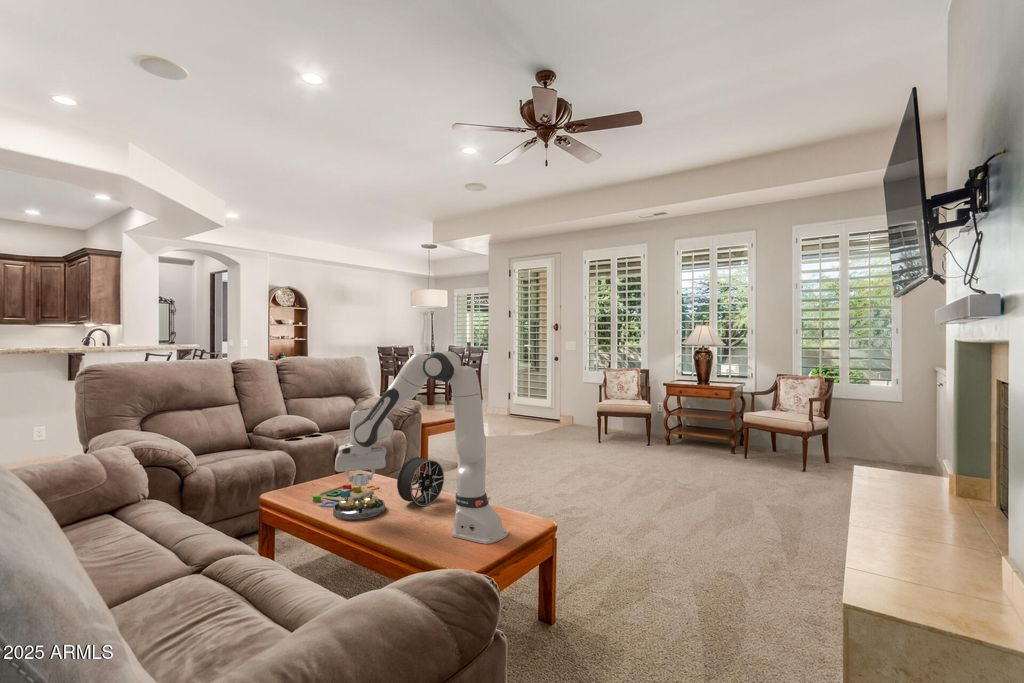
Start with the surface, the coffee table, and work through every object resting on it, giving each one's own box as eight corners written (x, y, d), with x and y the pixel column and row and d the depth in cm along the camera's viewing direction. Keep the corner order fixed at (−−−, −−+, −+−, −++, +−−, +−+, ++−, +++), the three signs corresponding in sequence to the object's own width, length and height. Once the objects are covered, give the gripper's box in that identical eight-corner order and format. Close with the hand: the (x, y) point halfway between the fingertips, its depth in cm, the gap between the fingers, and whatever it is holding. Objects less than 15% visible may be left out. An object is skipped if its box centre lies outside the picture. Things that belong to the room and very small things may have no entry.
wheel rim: (410, 511, 211) (411, 464, 211) (396, 506, 216) (397, 461, 216) (443, 499, 227) (444, 456, 227) (430, 495, 232) (430, 453, 232)
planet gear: (371, 483, 205) (372, 474, 205) (358, 487, 200) (358, 477, 200) (362, 480, 209) (362, 471, 209) (348, 484, 204) (348, 474, 204)
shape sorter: (358, 484, 251) (358, 475, 251) (387, 489, 242) (387, 480, 242) (302, 503, 221) (303, 493, 221) (332, 511, 212) (332, 500, 212)
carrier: (394, 510, 212) (394, 497, 212) (352, 524, 195) (352, 510, 195) (365, 499, 225) (365, 487, 225) (323, 512, 208) (323, 499, 208)
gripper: (385, 443, 211) (384, 476, 211) (334, 447, 204) (334, 480, 204) (387, 447, 205) (386, 480, 205) (335, 450, 198) (335, 484, 198)
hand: (360, 480), depth 205 cm, fingers closed on planet gear, 7 cm apart
